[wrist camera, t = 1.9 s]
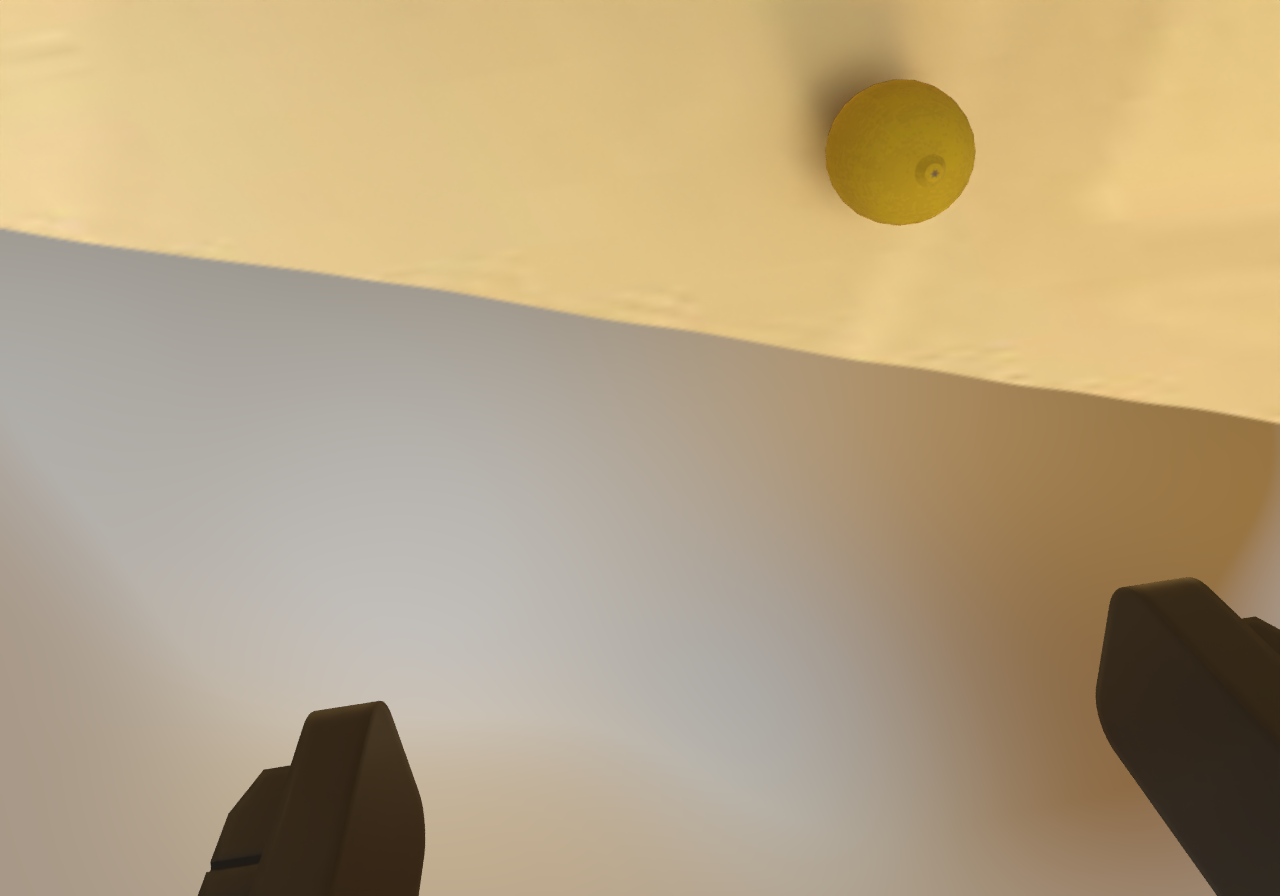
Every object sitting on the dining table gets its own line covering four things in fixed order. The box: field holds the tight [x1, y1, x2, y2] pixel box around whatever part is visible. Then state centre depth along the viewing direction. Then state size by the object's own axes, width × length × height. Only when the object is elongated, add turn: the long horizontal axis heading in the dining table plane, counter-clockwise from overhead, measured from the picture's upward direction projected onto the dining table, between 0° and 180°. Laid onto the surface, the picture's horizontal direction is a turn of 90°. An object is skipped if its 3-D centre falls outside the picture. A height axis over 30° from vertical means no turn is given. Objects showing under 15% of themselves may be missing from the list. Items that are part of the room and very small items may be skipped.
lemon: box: [826, 80, 975, 225], centre depth 37 cm, size 6×6×8 cm
